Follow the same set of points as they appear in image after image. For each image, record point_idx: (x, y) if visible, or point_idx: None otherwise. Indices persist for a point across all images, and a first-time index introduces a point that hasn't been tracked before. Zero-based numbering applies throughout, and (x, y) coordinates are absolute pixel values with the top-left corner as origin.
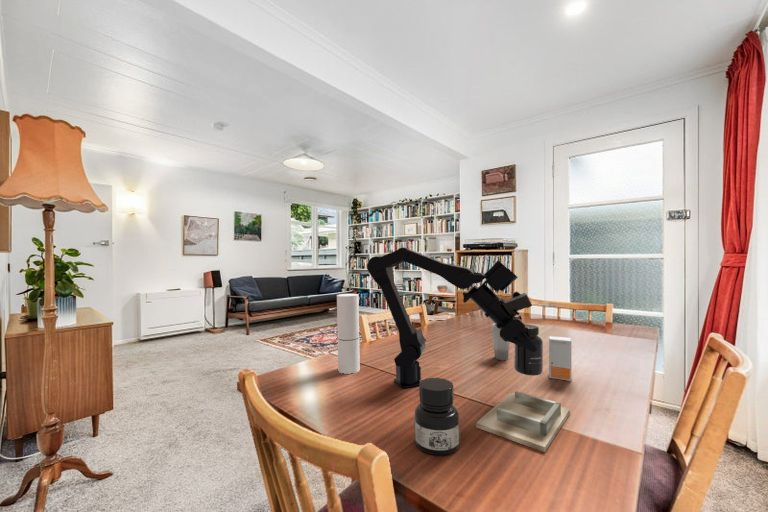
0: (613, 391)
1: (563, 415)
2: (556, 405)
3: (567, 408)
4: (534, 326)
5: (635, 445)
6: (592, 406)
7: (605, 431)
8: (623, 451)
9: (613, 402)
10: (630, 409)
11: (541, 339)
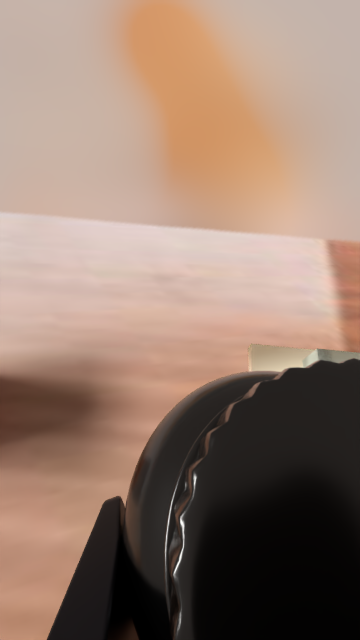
0: (24, 267)
1: (307, 353)
2: (344, 356)
3: (253, 349)
4: (311, 442)
5: (305, 240)
6: (165, 305)
7: (288, 279)
8: (344, 255)
9: (109, 267)
10: (134, 240)
11: (253, 375)
